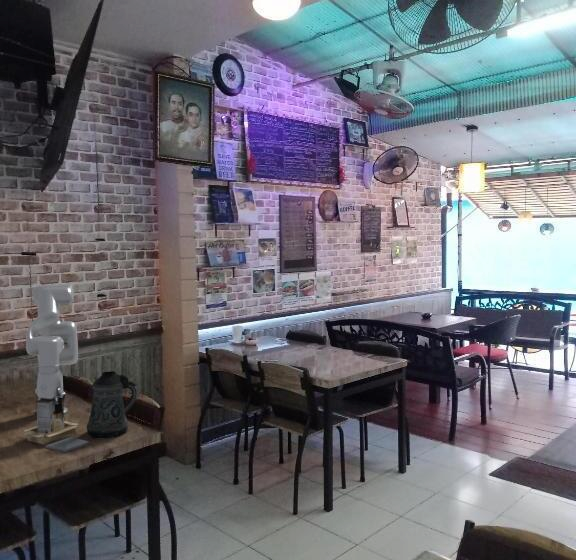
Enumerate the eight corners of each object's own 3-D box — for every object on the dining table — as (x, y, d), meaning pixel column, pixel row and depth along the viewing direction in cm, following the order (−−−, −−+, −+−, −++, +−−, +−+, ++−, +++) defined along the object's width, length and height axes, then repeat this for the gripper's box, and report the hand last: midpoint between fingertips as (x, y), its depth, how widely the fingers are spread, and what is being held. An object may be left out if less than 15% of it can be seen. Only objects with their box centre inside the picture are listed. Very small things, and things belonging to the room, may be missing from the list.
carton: (17, 441, 222) (17, 431, 222) (57, 428, 238) (57, 418, 238) (44, 447, 214) (44, 437, 214) (84, 433, 230) (83, 424, 230)
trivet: (45, 447, 214) (45, 445, 214) (69, 439, 224) (69, 437, 224) (65, 452, 209) (65, 450, 209) (88, 443, 218) (88, 441, 218)
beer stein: (79, 433, 231) (77, 373, 230) (121, 422, 245) (119, 365, 244) (100, 442, 220) (98, 379, 218) (142, 430, 234) (141, 370, 233)
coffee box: (51, 433, 231) (50, 395, 230) (65, 434, 230) (64, 395, 229) (37, 440, 222) (35, 400, 221) (51, 441, 221) (50, 401, 220)
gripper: (27, 369, 226) (28, 411, 226) (55, 372, 217) (56, 416, 217) (43, 366, 232) (44, 407, 233) (71, 369, 224) (73, 412, 224)
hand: (50, 412), depth 225 cm, fingers open, 9 cm apart
